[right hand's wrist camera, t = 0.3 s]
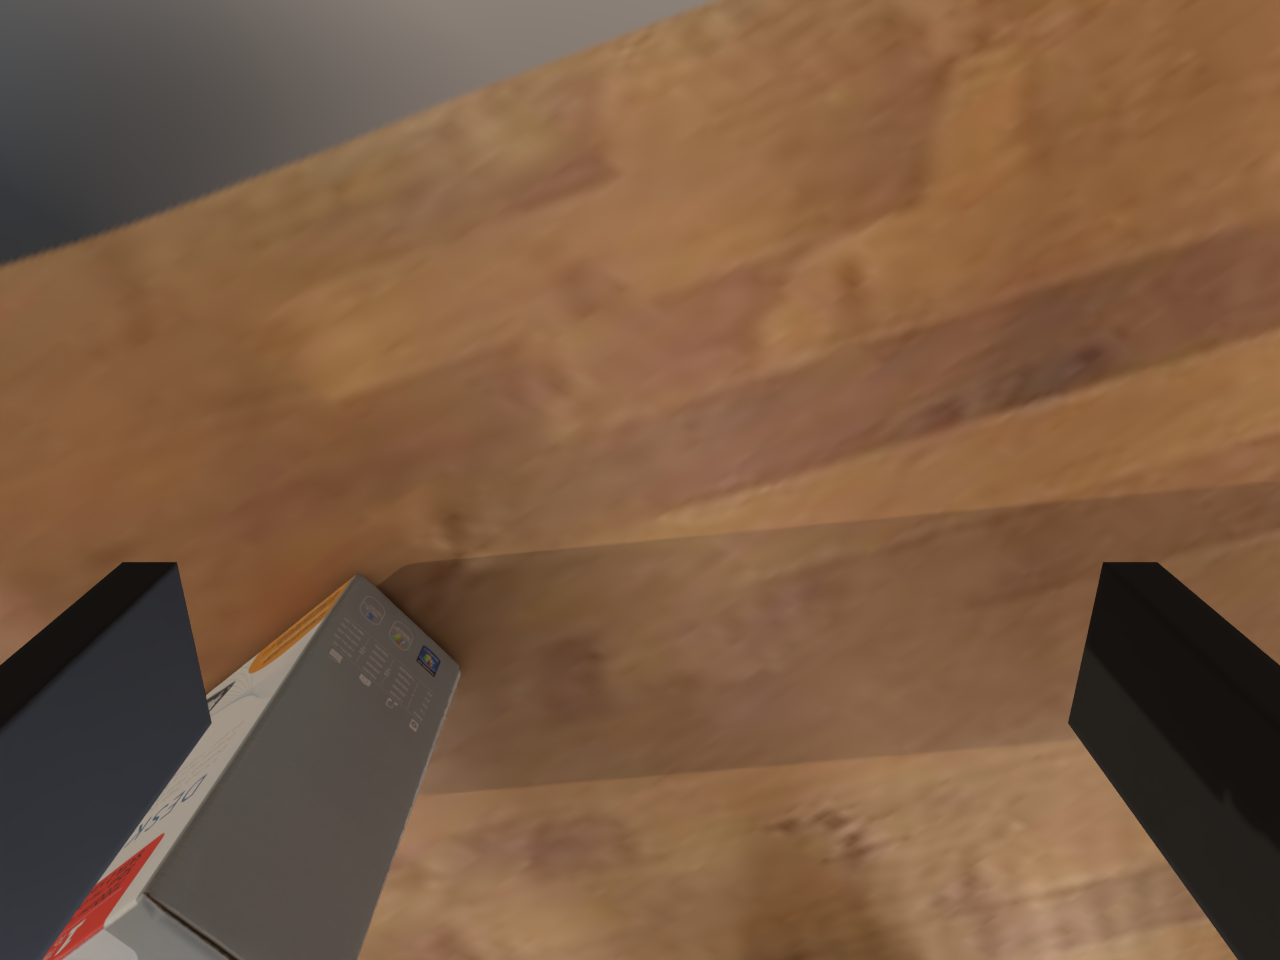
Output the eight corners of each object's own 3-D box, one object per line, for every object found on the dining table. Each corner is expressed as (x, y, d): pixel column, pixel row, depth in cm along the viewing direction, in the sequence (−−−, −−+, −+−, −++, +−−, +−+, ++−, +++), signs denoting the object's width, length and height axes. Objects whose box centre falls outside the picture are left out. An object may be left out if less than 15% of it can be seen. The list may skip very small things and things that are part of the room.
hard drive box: (359, 564, 43) (150, 890, 25) (467, 666, 46) (349, 1036, 27) (156, 730, 47) (-159, 1122, 28) (265, 817, 49) (39, 1234, 31)
